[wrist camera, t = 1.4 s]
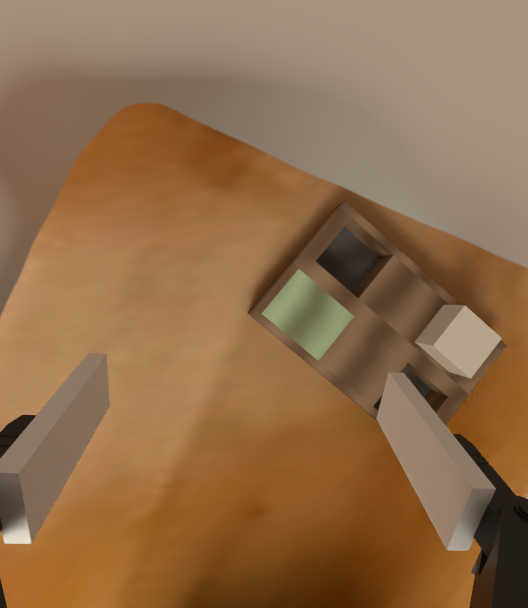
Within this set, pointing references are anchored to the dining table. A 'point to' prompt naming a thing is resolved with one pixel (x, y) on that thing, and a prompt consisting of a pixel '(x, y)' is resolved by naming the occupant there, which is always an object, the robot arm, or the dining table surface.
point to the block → (458, 340)
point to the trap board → (363, 315)
